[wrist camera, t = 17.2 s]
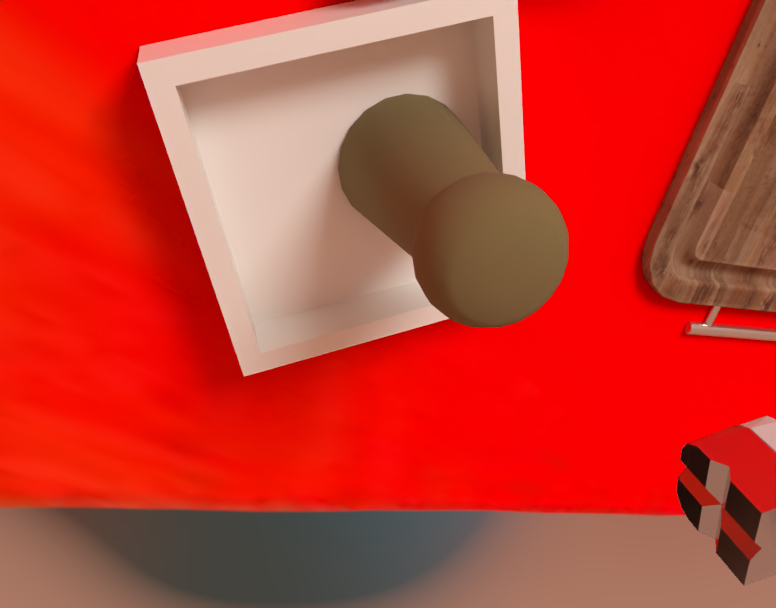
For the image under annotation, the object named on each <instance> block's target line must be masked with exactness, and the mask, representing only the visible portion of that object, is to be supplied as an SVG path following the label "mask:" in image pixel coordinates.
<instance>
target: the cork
mask: <svg viewBox="0 0 776 608" xmlns="http://www.w3.org/2000/svg"><path fill="white" fill-rule="evenodd" d="M338 171H339V176H340V182H341V187H342V190H343V192H344V193H345V195H346V197H347V199H348V200H349V202H350V204H351V206H352V207H354V208H355V209H356V210H357V211H358V212H359V213H361V214H362V215H363V216H364V217H365V218H367V219H368V220H369V221H370V222H371V223H372V224H374V225H375V226H376V227H377V228H378V229H380V230H381V231H382V232H383V233H384V234H385V235H387V236H388V237H389V238H390V239H391V240H393V241H394V242H395V243H396V244H397V245H398V246H400V247H401V248H402V249H403V250H404V251H406V252H407V253H408V254H409V255H410V256H411V257H412V258H413V266H414V272H415V278H416V280H417V282H418V283H419V285H420V287H421V289H422V291H423V292H424V294H425V296H426V298H427V299H428V301H429V302H430V304H431V305H433V306H434V307H435V308H436V309H438V310H439V311H440V312H441V313H443V314H444V315H445V316H446V317H448V318H450V319H451V320H453V321H454V322H457V323H461V324H464V325H467V326H470V327H479V328H486V327H503V326H506V325H509V324H513V323H516V322H519V321H521V320H522V319H524V318H526V317H527V316H529V315H531V314H532V313H534V312H536V311H537V310H538V309H539V308H540V307H541V306H542V305H543V304H544V303H545V302H546V301H547V300H548V299H549V298H550V297H551V296H552V294H553V293H554V291H555V290H556V288H557V287H558V285H559V283H560V282H561V280H562V278H563V274H564V271H565V268H566V265H567V262H568V231H567V228H566V225H565V223H564V220H563V217H562V214H561V213H560V211H559V209H558V207H557V205H556V204H555V203H554V202H553V201H552V200H551V199H550V198H549V197H548V196H547V194H546V193H545V192H544V191H543V190H542V189H540V188H539V187H537V186H536V185H534V184H533V183H530V182H528V181H526V180H524V179H522V178H520V177H517V176H515V175H510V174H504V173H500V172H499V171H498V170H497V168H496V167H495V166H494V164H493V163H492V162H491V160H490V159H489V158H488V157H487V155H486V154H485V153H484V151H483V150H482V149H481V147H480V146H479V145H478V143H477V142H476V141H475V140H474V138H473V137H472V136H471V134H470V133H469V132H468V130H467V129H466V128H465V126H464V125H463V124H462V122H461V121H460V120H459V119H458V118H457V117H456V115H455V114H454V113H453V112H452V111H451V110H450V109H449V108H448V107H447V106H446V105H445V104H443V103H441V102H439V101H437V100H435V99H433V98H431V97H429V96H425V95H416V94H402V95H398V96H393V97H389V98H385V99H383V100H382V101H380V102H378V103H377V104H375V105H373V106H372V107H370V108H368V109H367V110H365V111H364V113H363V114H362V115H361V116H360V117H359V118H358V119H357V120H356V121H355V122H354V124H353V125H352V126H351V127H350V129H349V131H348V133H347V135H346V138H345V140H344V142H343V144H342V146H341V151H340V158H339V166H338Z"/></svg>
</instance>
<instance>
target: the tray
mask: <svg viewBox="0 0 776 608" xmlns="http://www.w3.org/2000/svg"><path fill="white" fill-rule="evenodd" d="M137 65H138V68H139V71H140V74H141V77H142V80H143V83H144V86H145V89H146V92H147V95H148V97H149V100H150V103H151V106H152V109H153V112H154V115H155V118H156V121H157V124H158V127H159V130H160V133H161V136H162V138H163V141H164V144H165V147H166V150H167V153H168V156H169V159H170V162H171V165H172V168H173V171H174V174H175V176H176V179H177V182H178V185H179V188H180V191H181V194H182V197H183V200H184V203H185V206H186V209H187V212H188V214H189V217H190V220H191V223H192V226H193V229H194V232H195V235H196V238H197V241H198V244H199V247H200V250H201V252H202V255H203V258H204V261H205V264H206V267H207V270H208V273H209V276H210V279H211V282H212V285H213V288H214V291H215V293H216V296H217V299H218V302H219V305H220V308H221V311H222V314H223V317H224V320H225V323H226V326H227V329H228V331H229V334H230V337H231V340H232V343H233V346H234V349H235V352H236V355H237V358H238V361H239V364H240V367H241V369H242V372H243V375H244V376H248V375H251V374H255V373H259V372H262V371H266V370H269V369H273V368H276V367H280V366H283V365H287V364H290V363H294V362H297V361H301V360H304V359H308V358H312V357H315V356H319V355H322V354H326V353H329V352H333V351H336V350H340V349H343V348H347V347H350V346H354V345H358V344H361V343H365V342H368V341H372V340H375V339H379V338H382V337H386V336H389V335H393V334H396V333H400V332H403V331H407V330H411V329H414V328H418V327H421V326H425V325H428V324H432V323H435V322H439V321H442V320H446V319H449V318H448V317H446V316H445V315H444V314H443V313H441V312H440V311H439V310H438V309H436V308H435V307H434V306H433V305H431V304H430V302H429V301H428V299H427V298H426V296H425V294H424V292H423V291H422V289H421V287H420V285H419V283H418V282H417V280H416V278H415V272H414V266H413V258H412V257H411V256H410V255H409V254H408V253H407V252H406V251H404V250H403V249H402V248H401V247H400V246H398V245H397V244H396V243H395V242H394V241H393V240H391V239H390V238H389V237H388V236H387V235H385V234H384V233H383V232H382V231H381V230H380V229H378V228H377V227H376V226H375V225H374V224H372V223H371V222H370V221H369V220H368V219H367V218H365V217H364V216H363V215H362V214H361V213H359V212H358V211H357V210H356V209H355V208H354V207H352V206H351V204H350V202H349V200H348V199H347V197H346V195H345V193H344V192H343V190H342V187H341V182H340V176H339V171H338V166H339V158H340V151H341V146H342V144H343V142H344V140H345V138H346V135H347V133H348V131H349V129H350V127H351V126H352V125H353V124H354V122H355V121H356V120H357V119H358V118H359V117H360V116H361V115H362V114H363V113H364V111H365V110H367V109H368V108H370V107H372V106H373V105H375V104H377V103H378V102H380V101H382V100H383V99H385V98H389V97H393V96H398V95H402V94H416V95H425V96H429V97H431V98H433V99H435V100H437V101H439V102H441V103H443V104H445V105H446V106H447V107H448V108H449V109H450V110H451V111H452V112H453V113H454V114H455V115H456V117H457V118H458V119H459V120H460V121H461V122H462V124H463V125H464V126H465V128H466V129H467V130H468V132H469V133H470V134H471V136H472V137H473V138H474V140H475V141H476V142H477V143H478V145H479V146H480V147H481V149H482V150H483V151H484V153H485V154H486V155H487V157H488V158H489V159H490V160H491V162H492V163H493V164H494V166H495V167H496V168H497V170H498V171H499V172H500V173H504V174H510V175H515V176H517V177H520V178H522V179H524V180H525V160H524V137H523V114H522V91H521V69H520V46H519V23H518V1H517V0H356V1H351V2H346V3H342V4H337V5H332V6H327V7H323V8H318V9H313V10H309V11H304V12H299V13H294V14H290V15H285V16H280V17H276V18H271V19H266V20H262V21H257V22H252V23H247V24H243V25H238V26H233V27H229V28H224V29H219V30H214V31H210V32H205V33H200V34H196V35H191V36H186V37H181V38H177V39H172V40H167V41H163V42H158V43H153V44H148V45H144V46H140V49H139V55H138V60H137Z"/></svg>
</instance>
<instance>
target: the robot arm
mask: <svg viewBox="0 0 776 608" xmlns="http://www.w3.org/2000/svg"><path fill="white" fill-rule="evenodd" d="M680 460H681V461H682V462H683V463H684V464H685V466H686V468H685V469H684V470H683V472H682V473H681V474H680V476H679V477H678V482H677V494H678V498H679V501H680V504H681V507H682V509H683V511H684V513H685V514H686V516H687V518H688V519H689V521H690V522H691V523H692V524H693V526H694V527H695V528H696V529H697V530H698V531H699V532H701V533H703V534H705V535H708V536H710V537H712V538H714V539H715V541H716V542H715V543H716V553H717V554H718V556H719V557H720V558H721V559H722V560H723V562H724V563H725V564H726V565H727V566H728V567H729V569H730V570H731V571H732V572H733V573H734V575H735V576H736V577H737V578H738V579H739V581H740V582H741V583H742V584H743V585H744V586H745V585H748V584H751V583H754V582H756V581H759V580H762V579H765V578H767V577H770V576H773V575H776V419H774V418H771V417H769V416H765V417H760V418H758V419H755V420H752V421H750V422H747V423H744V424H742V425H739V426H733V427H730V428H728V429H725V430H722V431H719V432H717V433H714V434H711V435H708V436H706V437H703V438H700V439H698V440H695V441H692V442H689V443H687V444H686V445H685V446H684V447H683V448H682V452H681V458H680Z"/></svg>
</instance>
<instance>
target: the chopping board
mask: <svg viewBox="0 0 776 608" xmlns="http://www.w3.org/2000/svg"><path fill="white" fill-rule="evenodd" d="M641 260H642V267H643V273H644V278H645V279H646V280H647V282H648V283H649V284H650V285H651V287H652V288H653V289H654V290H655V291H656V292H657V293H658V294H659V295H661V296H662V297H664V298H667V299H670V300H673V301H676V302H680V303H690V304H700V305H710V306H711V308H710V310H709V312H708V313H707V315H706V317H705V319H704V321H703V322H694V321H688V322H687V324H686V326H685V328H684V330H683V331H684V333H686V334H692V335H704V336H716V337H729V338H741V339H753V340H766V341H776V329H772V328H761V327H750V326H739V325H727V324H716V323H713V322H714V320H715V318H716V316H717V314H718V312H719V310H720V308H721V307H730V308H740V309H750V310H760V311H770V312H776V0H752V3H751V5H750V7H749V9H748V12H747V14H746V16H745V18H744V20H743V23H742V25H741V27H740V29H739V32H738V34H737V36H736V38H735V41H734V43H733V45H732V47H731V50H730V52H729V54H728V56H727V59H726V61H725V63H724V65H723V68H722V70H721V72H720V74H719V77H718V79H717V81H716V83H715V86H714V88H713V90H712V92H711V94H710V97H709V99H708V101H707V103H706V106H705V108H704V110H703V112H702V115H701V117H700V119H699V121H698V124H697V126H696V128H695V130H694V133H693V135H692V137H691V139H690V142H689V144H688V146H687V148H686V151H685V153H684V155H683V157H682V160H681V162H680V164H679V166H678V168H677V171H676V173H675V175H674V177H673V180H672V182H671V184H670V186H669V189H668V191H667V193H666V195H665V198H664V200H663V202H662V204H661V207H660V209H659V211H658V213H657V216H656V218H655V220H654V222H653V225H652V227H651V229H650V231H649V234H648V236H647V239H646V243H645V246H644V250H643V254H642V258H641Z"/></svg>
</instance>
